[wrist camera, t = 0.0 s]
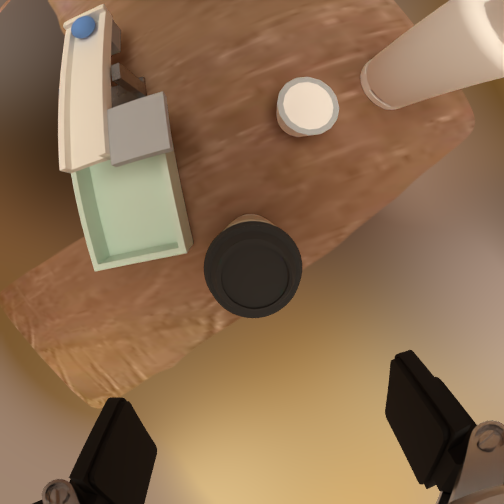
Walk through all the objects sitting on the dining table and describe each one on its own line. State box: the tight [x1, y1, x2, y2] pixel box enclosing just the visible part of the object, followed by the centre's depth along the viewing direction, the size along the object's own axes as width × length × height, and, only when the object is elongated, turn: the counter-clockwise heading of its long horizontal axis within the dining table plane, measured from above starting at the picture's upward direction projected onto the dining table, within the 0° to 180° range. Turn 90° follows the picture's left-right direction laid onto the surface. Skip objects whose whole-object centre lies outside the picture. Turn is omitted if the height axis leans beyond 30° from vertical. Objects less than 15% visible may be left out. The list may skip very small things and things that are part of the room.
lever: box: [58, 4, 173, 173], centre depth 25 cm, size 21×12×6 cm, turn 10°
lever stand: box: [58, 63, 147, 108], centre depth 29 cm, size 4×8×10 cm, turn 101°
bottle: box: [360, 0, 504, 110], centre depth 20 cm, size 8×8×28 cm
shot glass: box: [276, 77, 339, 137], centre depth 32 cm, size 7×7×7 cm
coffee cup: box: [204, 214, 302, 318], centre depth 32 cm, size 9×9×15 cm
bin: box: [71, 136, 194, 271], centre depth 35 cm, size 16×13×5 cm
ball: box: [71, 16, 95, 38], centre depth 22 cm, size 3×3×3 cm
